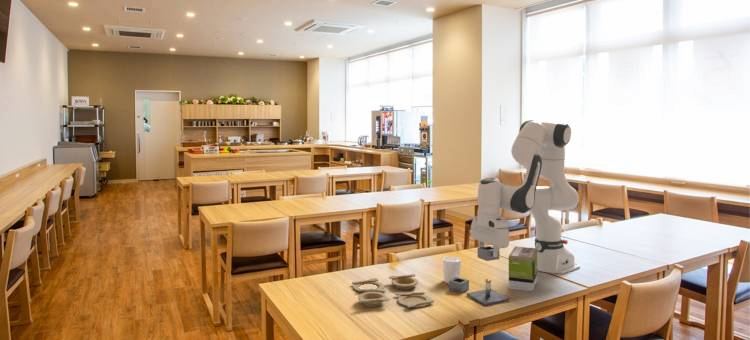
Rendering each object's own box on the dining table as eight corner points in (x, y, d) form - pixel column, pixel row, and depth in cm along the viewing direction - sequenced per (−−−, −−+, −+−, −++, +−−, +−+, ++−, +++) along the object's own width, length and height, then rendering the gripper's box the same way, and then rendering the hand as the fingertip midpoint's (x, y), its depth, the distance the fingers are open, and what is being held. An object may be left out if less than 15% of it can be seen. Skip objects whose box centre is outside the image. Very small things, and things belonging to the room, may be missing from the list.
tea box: (514, 277, 218) (514, 245, 216) (537, 280, 213) (538, 247, 212) (507, 288, 204) (508, 254, 203) (532, 292, 200) (533, 257, 198)
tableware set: (437, 309, 185) (437, 299, 184) (360, 315, 180) (360, 305, 180) (414, 279, 219) (414, 270, 219) (350, 283, 215) (350, 274, 214)
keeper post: (490, 290, 202) (491, 273, 201) (509, 300, 191) (510, 282, 190) (466, 295, 197) (466, 277, 196) (484, 306, 186) (485, 286, 185)
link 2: (489, 255, 196) (489, 245, 196) (499, 259, 191) (499, 249, 190) (477, 257, 194) (477, 247, 193) (486, 261, 188) (486, 250, 188)
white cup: (460, 284, 210) (460, 262, 208) (442, 283, 211) (442, 261, 210) (461, 278, 217) (461, 257, 216) (443, 277, 219) (443, 256, 218)
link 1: (456, 286, 208) (456, 277, 208) (468, 289, 204) (469, 280, 204) (448, 290, 204) (449, 280, 203) (461, 293, 200) (461, 283, 199)
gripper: (466, 215, 199) (466, 249, 200) (498, 225, 180) (498, 261, 182) (479, 214, 201) (479, 247, 203) (512, 223, 183) (511, 259, 184)
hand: (488, 254), depth 192 cm, fingers closed on link 2, 6 cm apart
